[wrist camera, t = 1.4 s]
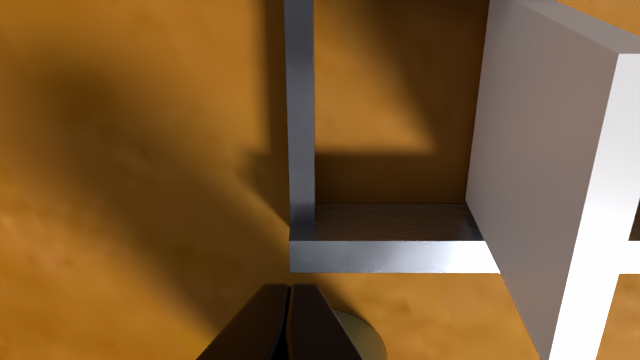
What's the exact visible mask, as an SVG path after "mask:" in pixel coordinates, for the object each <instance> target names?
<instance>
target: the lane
mask: <svg viewBox="0 0 640 360" xmlns="http://www.w3.org/2000/svg"><path fill="white" fill-rule="evenodd" d="M284 23H285V56H286V90H287V123H288V156H289V190H290V223H291V225H290V235H289V261H290V273H500V272H499V270H498V268H497V266H496V264H495V261H494V259H493V257H492V255H491V253H490V251H489V249H488V247H487V245H486V242H485V240H484V238H483V236H482V234H481V232H480V230H479V228H478V226H477V223H476V221H475V219H474V217H473V215H472V213H471V211H470V209H469V207H468V205H467V203H315V87H314V0H284ZM619 273H640V203H638V206H637V210H636V214H635V217H634V221H633V225H632V228H631V232H630V235H629V239H628V243H627V246H626V250H625V254H624V257H623V261H622V264H621V268H620V272H619Z"/></svg>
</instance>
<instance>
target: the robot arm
mask: <svg viewBox="0 0 640 360" xmlns="http://www.w3.org/2000/svg"><path fill="white" fill-rule="evenodd" d="M196 360H363V358H362V356H361V355H360V353H359V352H358V350H357V348H356V347H355V345H354V343H353V342H352V340H351V339H350V337H349V335H348V334H347V332H346V331H345V329H344V327H343V326H342V324H341V322H340V321H339V319H338V318H337V316H336V314H335V313H334V311H333V310H332V308H331V306H330V305H329V303H328V301H327V300H326V298H325V297H324V295H323V293H322V292H321V290H320V289H319V287H318V286H317V285H316V284H314V283H295V284H292V285H291V287H290V286H289V285H288V284H286V283H266V284H264V285H262V286H261V288H260V289H259V290H258V291H257V292H256V293H255V294H254V295H253V296H252V298H251V299H250V300H249V301H248V302H247V303H246V304H245V305H244V306H243V308H242V309H241V310H240V311H239V312H238V313H237V314H236V315H235V317H234V318H233V319H232V320H231V321H230V322H229V323H228V324H227V325H226V327H225V328H224V329H223V330H222V331H221V332H220V333H219V334H218V336H217V337H216V338H215V339H214V340H213V341H212V342H211V343H210V344H209V346H208V347H207V348H206V349H205V350H204V351H203V352H202V353H201V354H200V356H199V357H198V358H197V359H196Z"/></svg>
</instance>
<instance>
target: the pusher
mask: <svg viewBox="0 0 640 360" xmlns="http://www.w3.org/2000/svg"><path fill="white" fill-rule="evenodd" d="M639 199H640V37H639V36H637V35H634V34H632V33H630V32H627V31H625V30H623V29H620V28H618V27H616V26H613V25H611V24H609V23H606V22H604V21H602V20H599V19H597V18H594V17H592V16H590V15H587V14H585V13H583V12H580V11H578V10H576V9H573V8H571V7H569V6H566V5H564V4H561V3H559V2H557V1H554V0H490V4H489V12H488V20H487V28H486V36H485V44H484V52H483V60H482V68H481V77H480V85H479V93H478V101H477V109H476V117H475V125H474V133H473V141H472V149H471V158H470V166H469V174H468V182H467V190H466V198H465V200H466V202H467V205H468V207H469V209H470V211H471V213H472V215H473V217H474V219H475V221H476V223H477V226H478V228H479V230H480V232H481V234H482V236H483V238H484V240H485V242H486V245H487V247H488V249H489V251H490V253H491V255H492V257H493V259H494V261H495V264H496V266H497V268H498V270H499V272H500V274H501V276H502V278H503V280H504V282H505V285H506V287H507V289H508V291H509V293H510V295H511V297H512V299H513V301H514V304H515V306H516V308H517V310H518V312H519V314H520V316H521V318H522V320H523V323H524V325H525V327H526V329H527V331H528V333H529V335H530V337H531V339H532V341H533V344H534V346H535V348H536V350H537V352H538V354H539V356H540V358H541V360H595V359H596V355H597V351H598V348H599V344H600V341H601V337H602V333H603V330H604V326H605V322H606V319H607V315H608V312H609V308H610V304H611V301H612V297H613V293H614V290H615V286H616V283H617V279H618V275H619V272H620V268H621V264H622V261H623V257H624V254H625V250H626V246H627V243H628V239H629V235H630V232H631V228H632V225H633V221H634V217H635V214H636V210H637V206H638V203H639Z"/></svg>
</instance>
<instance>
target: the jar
mask: <svg viewBox="0 0 640 360" xmlns="http://www.w3.org/2000/svg"><path fill="white" fill-rule="evenodd" d="M333 311H334V313H335V314H336V316H337V318H338V319H339V321H340V322H341V324H342V326H343V327H344V329H345V331H346V332H347V334H348V335H349V337H350V339H351V340H352V342H353V343H354V345H355V347H356V348H357V350H358V352H359V353H360V355H361V356H362V358H363V360H388V359H387V353H386V348H385V345H384V343H383V341H382V339H381V337H380V336H379V334H378V333H377V332H376V331H375V330H374V329H373V328H372V327H371V326H370V325H369V324H368V323H366V322H365V321H363V320H362V319H360V318H358V317H356V316H354V315H351V314H349V313H345V312H342V311H337V310H333Z"/></svg>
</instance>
